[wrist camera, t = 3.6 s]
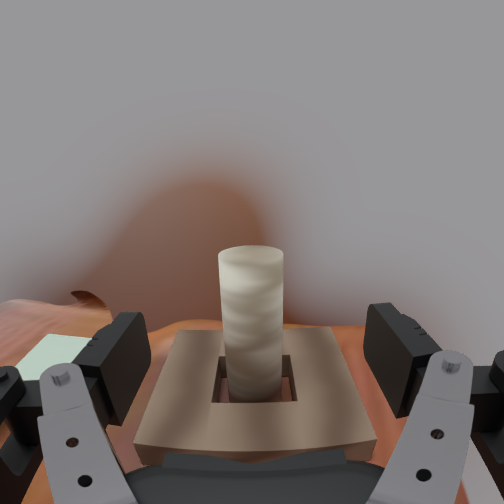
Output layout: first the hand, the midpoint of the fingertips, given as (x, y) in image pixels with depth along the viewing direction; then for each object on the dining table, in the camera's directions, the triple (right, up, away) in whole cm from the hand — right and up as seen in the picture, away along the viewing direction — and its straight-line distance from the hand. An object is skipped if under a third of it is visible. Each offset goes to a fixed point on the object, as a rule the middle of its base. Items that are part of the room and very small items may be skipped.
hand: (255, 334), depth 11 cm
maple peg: (0, -10, +15) cm, 18 cm away
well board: (0, -10, +15) cm, 18 cm away
